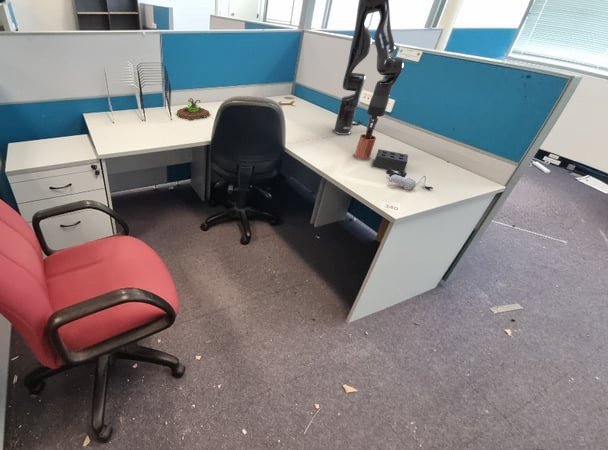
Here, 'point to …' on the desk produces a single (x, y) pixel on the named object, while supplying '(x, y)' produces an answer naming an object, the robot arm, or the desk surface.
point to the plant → (192, 111)
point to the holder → (390, 160)
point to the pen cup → (364, 147)
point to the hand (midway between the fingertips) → (367, 139)
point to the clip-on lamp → (403, 179)
